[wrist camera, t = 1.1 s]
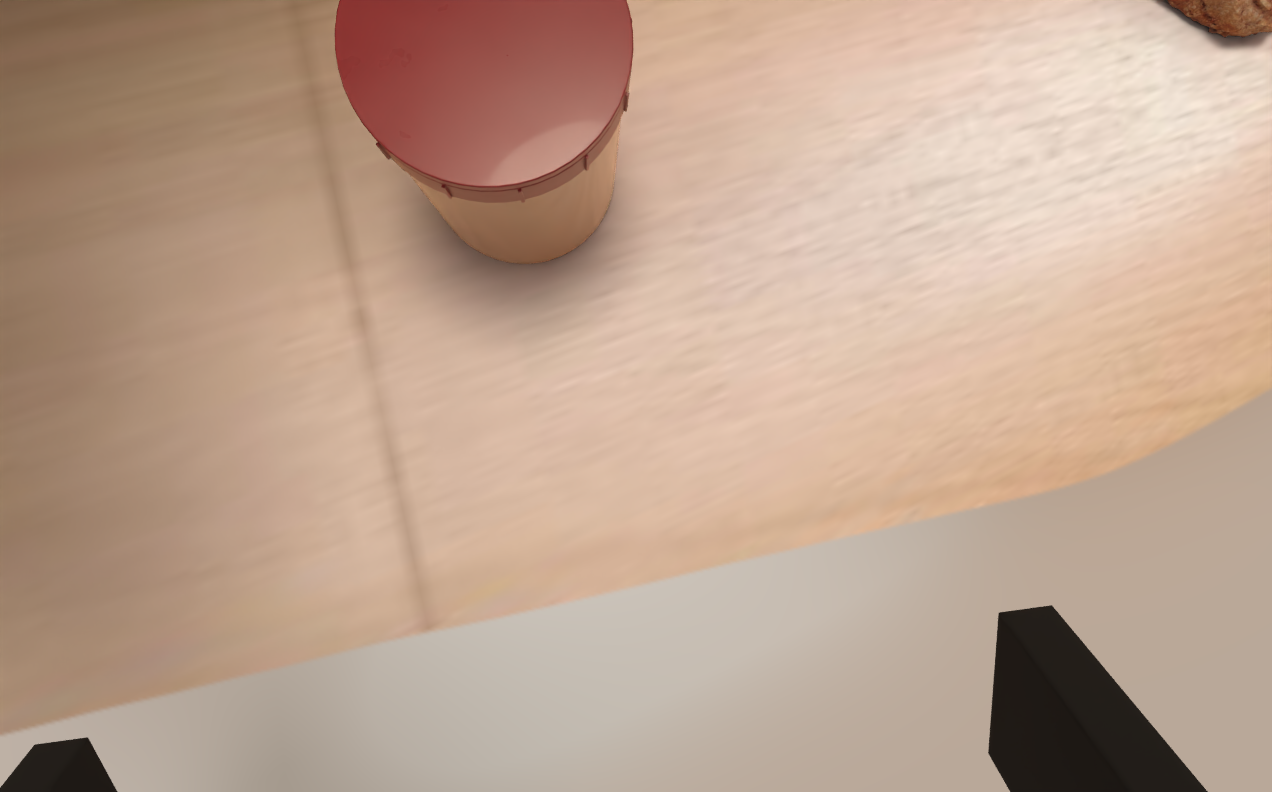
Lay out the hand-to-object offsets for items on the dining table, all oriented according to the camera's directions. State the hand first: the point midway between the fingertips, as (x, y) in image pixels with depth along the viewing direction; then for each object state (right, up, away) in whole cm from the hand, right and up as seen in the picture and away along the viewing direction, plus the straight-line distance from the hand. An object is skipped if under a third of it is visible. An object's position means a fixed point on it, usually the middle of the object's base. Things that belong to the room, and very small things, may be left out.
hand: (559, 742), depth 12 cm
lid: (-3, +15, +11) cm, 19 cm away
